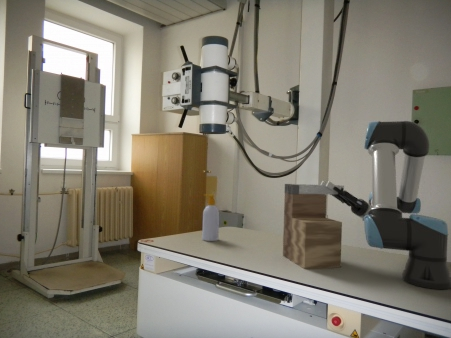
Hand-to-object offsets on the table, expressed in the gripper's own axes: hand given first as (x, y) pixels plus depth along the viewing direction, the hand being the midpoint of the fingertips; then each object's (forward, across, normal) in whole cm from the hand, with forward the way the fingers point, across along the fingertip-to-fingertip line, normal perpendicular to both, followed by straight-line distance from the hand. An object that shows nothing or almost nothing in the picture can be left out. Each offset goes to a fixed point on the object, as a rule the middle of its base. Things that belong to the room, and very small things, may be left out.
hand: (324, 183), depth 153 cm
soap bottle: (+20, +42, -50) cm, 68 cm away
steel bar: (+2, 0, -6) cm, 6 cm away
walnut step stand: (-8, -6, -33) cm, 35 cm away
